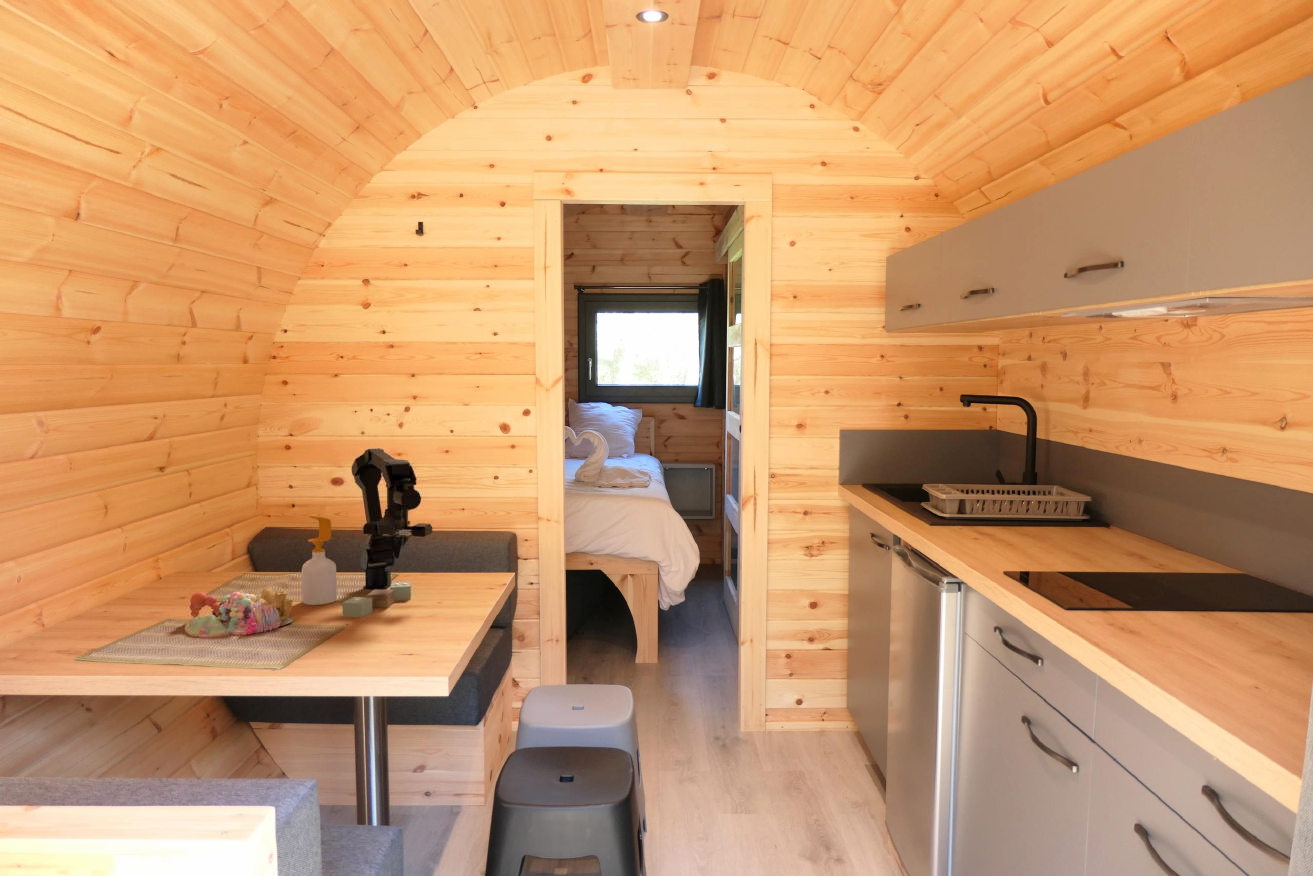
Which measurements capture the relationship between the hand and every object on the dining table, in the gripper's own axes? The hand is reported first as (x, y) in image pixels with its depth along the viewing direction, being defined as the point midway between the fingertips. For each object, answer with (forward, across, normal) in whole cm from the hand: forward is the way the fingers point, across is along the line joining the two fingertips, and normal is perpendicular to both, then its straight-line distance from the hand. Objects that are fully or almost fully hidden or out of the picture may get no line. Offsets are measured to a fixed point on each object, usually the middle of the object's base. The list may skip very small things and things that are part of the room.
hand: (397, 558), depth 240 cm
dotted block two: (+12, 0, +1) cm, 12 cm away
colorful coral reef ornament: (+12, -29, -30) cm, 43 cm away
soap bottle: (+12, -20, -7) cm, 25 cm away
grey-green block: (+12, -4, -17) cm, 21 cm away
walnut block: (+12, -1, -8) cm, 14 cm away
